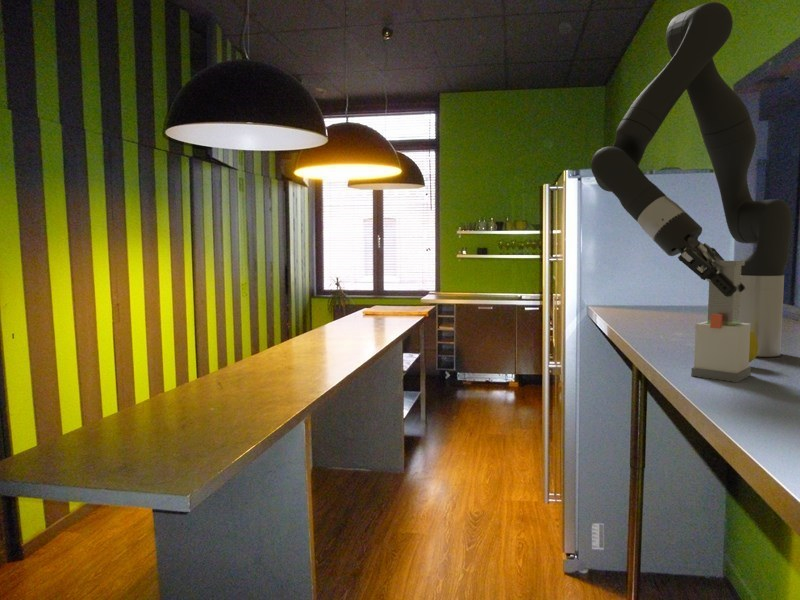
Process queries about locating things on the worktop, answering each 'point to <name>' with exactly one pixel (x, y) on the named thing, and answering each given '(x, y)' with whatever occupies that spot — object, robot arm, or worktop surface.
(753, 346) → the lemon
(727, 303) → the column
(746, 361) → the stand
